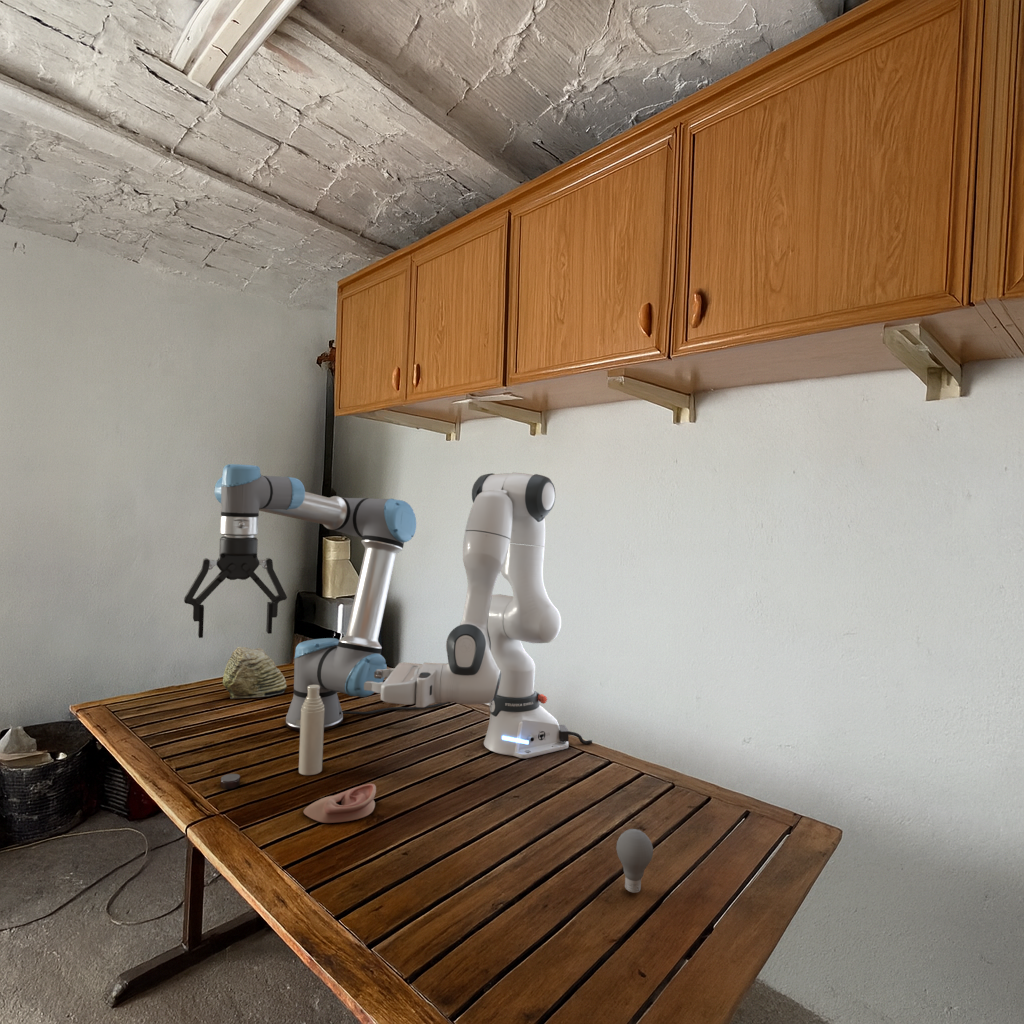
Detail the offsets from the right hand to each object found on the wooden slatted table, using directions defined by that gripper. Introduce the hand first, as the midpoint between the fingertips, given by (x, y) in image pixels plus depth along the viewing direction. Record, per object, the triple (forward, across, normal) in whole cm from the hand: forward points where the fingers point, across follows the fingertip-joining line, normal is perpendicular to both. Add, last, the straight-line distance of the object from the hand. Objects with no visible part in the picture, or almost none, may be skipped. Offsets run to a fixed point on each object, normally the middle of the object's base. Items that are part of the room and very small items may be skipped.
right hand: (369, 679), depth 146 cm
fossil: (+48, -51, +22) cm, 74 cm away
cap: (+27, +9, +20) cm, 35 cm away
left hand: (+27, +9, -11) cm, 31 cm away
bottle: (+13, 0, +22) cm, 25 cm away
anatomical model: (+1, +18, +22) cm, 28 cm away
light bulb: (-55, +39, +22) cm, 71 cm away
